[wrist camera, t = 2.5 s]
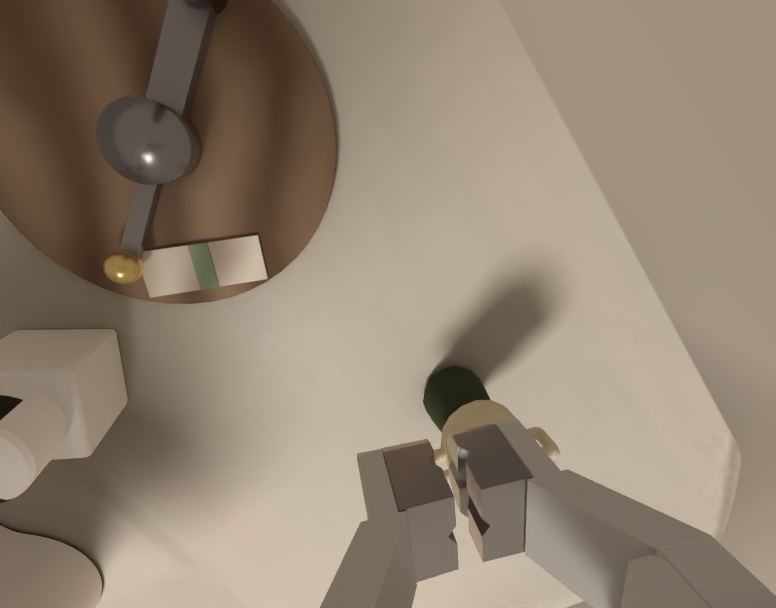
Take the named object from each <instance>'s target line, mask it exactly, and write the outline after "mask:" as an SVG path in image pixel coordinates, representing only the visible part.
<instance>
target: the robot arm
mask: <svg viewBox="0 0 776 608" xmlns="http://www.w3.org/2000/svg"><path fill="white" fill-rule="evenodd" d="M447 449H448V452H449V454H450V456H451V458H452V461H451V463H450V464H449V476H450V482H451V487H452V491H453V493H452V491H451V489H450V486H449V484H448V482H447V479H446V477H445V475H444V472H443V470H442V468H440V467H439V466H437V465H435V457H434V450H433V448H432V446H431V444H430V442H429V440H428V439H425V440H420V441H415V442H410V443H405V444H400V445H395V446H390V447H385V448H381V449H378V450H373V451H368V452H363V453H358V454H357V461H358V467H359V472H360V478H361V484H362V490H363V496H364V502H365V507H366V513H367V519H368V520H367V521H363V522H361V523H360V525H359V527H358V529H357V531H356V533H355V535H354V537H353V539H352V542H351V544H350V546H349V548H348V550H347V552H346V554H345V556H344V558H343V560H342V563H341V565H340V567H339V569H338V571H337V573H336V575H335V577H334V579H333V581H332V583H331V586H330V588H329V590H328V592H327V594H326V596H325V598H324V600H323V602H322V604H321V607H320V608H412V604H413V600H414V595H415V591H416V587H417V583H416V582H419V581H422V580H425V579H428V578H432V577H435V576H438V575H441V574H444V573H447V572H451V571H454V570H457V569H458V550H457V542H456V539H455V537H454V534H453V532H452V530H453V529H454V528H455V526H456V517H455V503H454V497H455V500H456V503H457V505H458V507H459V510H460V512H461V513H462V514H464V515H465V516H467V517H468V521H469V532H470V535H471V537H472V539H473V541H474V543H475V546H476V548H477V550H478V552H479V554H480V557H481V559H482V561H483V562H485V561H489V560H493V559H497V558H501V557H505V556H510V555H514V554H518V553H522V552H525V554H526V555H527V556H528V557H529V558H531V559H532V560H533V561H534V562H536V563H537V564H538V565H539V566H541V567H542V568H543V569H544V570H546V571H547V572H548V573H550V574H551V575H552V576H553V577H555V578H556V579H557V580H558V581H560V582H561V583H562V584H563V585H565V586H566V587H567V588H568V589H570V590H571V591H572V592H574V593H575V594H576V595H577V596H579V597H580V598H581V599H582V600H584V601H585V602H586V603H587V604H589V605H590V606H591V607H592V608H776V596H775V595H774V594H773V593H772V592H771V591H770V590H769V589H768V588H767V587H766V586H764V585H763V584H762V583H761V582H760V581H759V580H758V579H757V578H756V577H755V576H754V575H753V574H752V573H751V572H749V571H748V570H747V569H746V568H745V567H744V566H743V565H742V564H741V563H740V562H739V561H738V560H737V559H736V558H734V557H733V556H732V555H731V554H730V553H729V552H728V551H727V550H726V549H725V548H724V547H722V545H720V544H719V543H718V542H717V541H716V540H715V539H714V538H713V537H712V536H711V535H709V534H707V533H705V532H703V531H701V530H698V529H696V528H694V527H692V526H690V525H688V524H685V523H683V522H681V521H679V520H677V519H675V518H672V517H670V516H668V515H666V514H664V513H661V512H659V511H657V510H655V509H653V508H651V507H648V506H646V505H644V504H642V503H640V502H638V501H635V500H633V499H631V498H629V497H627V496H624V495H622V494H620V493H618V492H616V491H614V490H611V489H609V488H607V487H605V486H603V485H601V484H598V483H596V482H594V481H592V480H590V479H588V478H585V477H583V476H581V475H579V474H577V473H574V472H572V471H570V470H563V471H560V469H559V468H558V467H557V466H556V465H555V463H554V462H553V461H552V460H551V459H550V457H549V456H548V455H547V454H546V452H545V451H544V450H543V449H542V448H541V446H540V445H539V444H538V443H537V442H536V440H535V439H534V438H533V437H532V436H531V434H530V433H529V432H528V431H527V430H526V428H525V427H524V426H523V425H522V424H521V422H520V421H519V420H517V419H515V418H511V419H507V420H503V421H499V422H495V423H492V424H489V425H484V426H480V427H476V428H472V429H468V430H463V431H459V432H455V433H451V434H448V437H447ZM453 494H454V496H453ZM101 593H102V581H101V577H100V574H99V572H98V570H97V569H96V567H95V566H94V564H93V563H92V562H91V561H90V560H89V559H88V558H87V557H86V556H85V555H83V554H82V553H81V552H79V551H78V550H76V549H74V548H73V547H71V546H69V545H66V544H64V543H62V542H59V541H56V540H53V539H50V538H46V537H41V536H36V535H29V534H23V533H18V532H14V531H11V530H9V529H7V528H5V527H3V526H1V525H0V608H95V607H96V605H97V604H98V602H99V600H100V597H101Z"/></svg>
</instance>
